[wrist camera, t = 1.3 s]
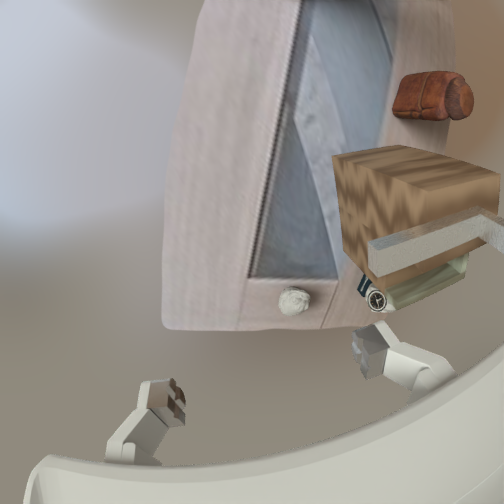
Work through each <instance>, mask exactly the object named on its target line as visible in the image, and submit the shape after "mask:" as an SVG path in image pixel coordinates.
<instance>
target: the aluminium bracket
mask: <svg viewBox="0 0 504 504" xmlns="http://www.w3.org/2000/svg"><path fill="white" fill-rule="evenodd" d="M476 237H479V238H480V239H482V240H484V241H485V242H487V243H488V244H490V245H491V246H493V247H494V248H496V249H497V250H499V251H501V252H502V253H503V254H504V219H502V218H501V217H499V216H497V215H495V214H493V213H491V212H489V211H488V210H486V209H484V208H482V207H480V206H475V207H473V208H470V209H467V210H464V211H461V212H458V213H455V214H452V215H449V216H446V217H443V218H440V219H437V220H434V221H431V222H428V223H425V224H422V225H419V226H416V227H413V228H409V229H406V230H403V231H400V232H397V233H394V234H391V235H387V236H384V237H381V238H378V239H375V240H371V241H368V268H369V269H370V270H371V271H372V272H373V273H374V274H375V275H376V276H377V278H378V277H381V276H384V275H387V274H389V273H392V272H395V271H397V270H400V269H403V268H405V267H408V266H410V265H413V264H415V263H418V262H420V261H423V260H425V259H428V258H430V257H433V256H435V255H438V254H440V253H442V252H445V251H447V250H449V249H452V248H454V247H456V246H459V245H461V244H463V243H465V242H468V241H470V240H472V239H474V238H476Z"/></svg>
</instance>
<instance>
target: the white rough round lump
mask: <svg viewBox="0 0 504 504" xmlns="http://www.w3.org/2000/svg"><path fill="white" fill-rule="evenodd" d="M310 298H311V297H310V295H309V294H308V293H307V292H306V291H304V290H299V289H298V288H295V287H288V288H286V289H284V290H283V291H282V293H281V295H280V299H279V308H280V309H281V311H282V313H283V314H284V315H286V316H293V315H297V314H300V313H302V312H303V311H305V310H307V309H308V308H309V303H310Z"/></svg>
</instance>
